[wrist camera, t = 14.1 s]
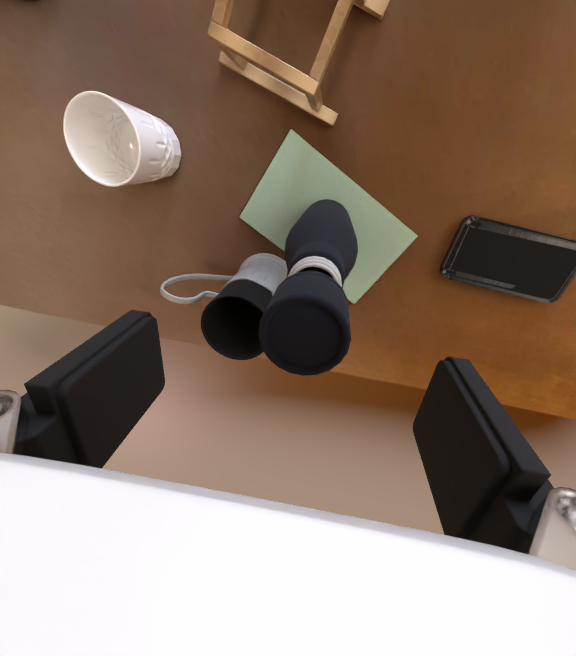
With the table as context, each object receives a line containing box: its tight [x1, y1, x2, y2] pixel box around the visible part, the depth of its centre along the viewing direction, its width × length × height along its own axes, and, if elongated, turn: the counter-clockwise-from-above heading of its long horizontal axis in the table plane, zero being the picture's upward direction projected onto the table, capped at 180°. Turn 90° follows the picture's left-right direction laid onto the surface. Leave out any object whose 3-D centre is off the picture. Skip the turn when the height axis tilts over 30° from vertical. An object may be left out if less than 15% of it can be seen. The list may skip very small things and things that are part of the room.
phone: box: [440, 216, 576, 303], centre depth 37 cm, size 8×1×15 cm
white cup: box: [63, 91, 181, 187], centre depth 33 cm, size 8×8×10 cm
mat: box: [239, 129, 417, 304], centre depth 39 cm, size 20×12×1 cm, turn 54°
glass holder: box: [160, 253, 288, 360], centre depth 37 cm, size 9×14×15 cm, turn 71°
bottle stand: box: [208, 0, 389, 127], centre depth 27 cm, size 14×11×9 cm
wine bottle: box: [258, 199, 358, 375], centre depth 25 cm, size 6×6×30 cm
